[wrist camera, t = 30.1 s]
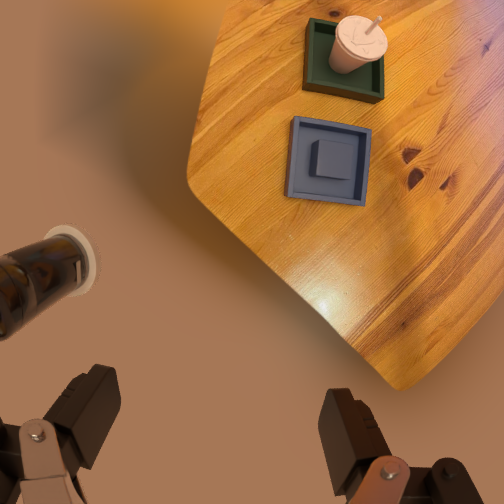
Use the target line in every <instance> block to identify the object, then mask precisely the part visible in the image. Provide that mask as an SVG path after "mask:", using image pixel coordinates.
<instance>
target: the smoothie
mask: <svg viewBox="0 0 504 504" xmlns="http://www.w3.org/2000/svg"><path fill="white" fill-rule="evenodd" d="M381 20H382V17H380V16H378V17H377V18H376V19H375V20H374V22H373V21H371V20H370V19H367V18H365V17H362V16H348V17H346V18H344V19H343V20H341V22H340V23H339V24H338V25H337V28H336V39H335V42H334V45H333V48H332V51H331V54H330V57H329V65H330V67H331V68H332V69H333V70H334V71H335V72H337V73H340V74H347V73H349V72H351V71H353V70H355V69H356V68H358V67H360V66H362V65H363V64H365V63H367V62H369V61H375V60H378V59H379V58H381V57H382V55H383V54H384V53H385V52H386V50H387V46H388V43H387V38H386V36H385V34H384V32H383V30H382V29H381V28H380V27H379V26H378V24H379V23H380V21H381Z"/></svg>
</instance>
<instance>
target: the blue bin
mask: <svg viewBox="0 0 504 504" xmlns="http://www.w3.org/2000/svg"><path fill="white" fill-rule="evenodd" d="M371 132H372V130H371V129H367V128H363V127H358V126H353V125H348V124H343V123H337V122H332V121H326V120H320V119H314V118H307V117H300V116H294V117H293V119H292V120H291V125H290V137H289V148H288V159H287V170H286V181H285V191H284V196H287V197H293V198H302V199H311V200H319V201H327V202H335V203H343V204H350V205H357V206H365V201H366V193H367V183H368V173H369V161H370V148H371ZM319 139H322V140H328V141H334V142H340V143H346V144H351V145H354V148H353V161H352V172H351V180H335V179H328V178H321V177H313V176H309V168H310V157H311V145H312V143H314V142H315V141H317V140H319Z"/></svg>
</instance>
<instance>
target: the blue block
mask: <svg viewBox="0 0 504 504" xmlns="http://www.w3.org/2000/svg"><path fill="white" fill-rule="evenodd" d="M353 148H354V145H351V144H346V143H340V142H334V141H328V140H322V139H319V140H317V141H315V142H314V143H312V145H311V157H310V168H309V176H313V177H321V178H328V179H335V180H351V172H352V161H353Z"/></svg>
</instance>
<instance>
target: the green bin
mask: <svg viewBox="0 0 504 504" xmlns="http://www.w3.org/2000/svg"><path fill="white" fill-rule="evenodd" d="M338 24H339V23H335V22H331V21H326V20H321V19H315V18H310V19H309V21H308V24H307V26H306V33H305V53H304V71H303V86H302V90H305V91H312V92H318V93H324V94H329V95H335V96H340V97H345V98H349V99H354V100H358V101H363V102H367V103H371V104H376V103H378V102H380V101H381V100H383V99H384V54H383V55H382V57H381V58H379V59H378V60H375V61H369V62H367V63H365V64H363V65H362V66H360V67H358V68H356V69H355V70H353V71H351V72H349V73H347V74H340V73H337V72H335V71H334V70H333V69H332V68H331V67H330V65H329V57H330V54H331V51H332V48H333V45H334V42H335V39H336V28H337V25H338Z"/></svg>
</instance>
